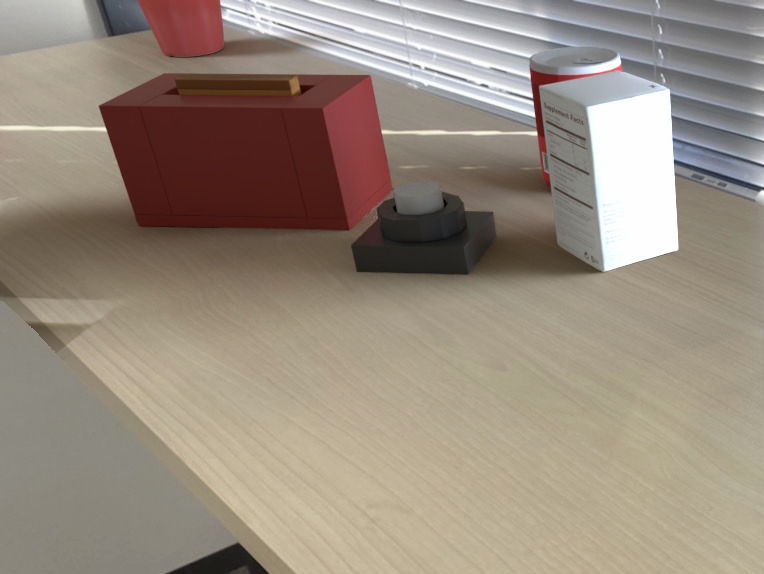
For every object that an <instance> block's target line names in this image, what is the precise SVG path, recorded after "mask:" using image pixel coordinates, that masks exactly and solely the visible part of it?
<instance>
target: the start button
mask: <svg viewBox="0 0 764 574" xmlns="http://www.w3.org/2000/svg"><path fill="white" fill-rule="evenodd" d="M392 192H393V196H394V197H395V202H396V208H397V213H400V214H403V215H422V214H428V213H433V212H436V211H439V210H441V209H444V203H443V198H442V192H443V191H442V187H441V185H440V184H439V183H437V182H434V181H429V180H428V181H427V180H418V181H410V182H405V183H401V184H399V185H397V186H395V187H394V188H393V190H392ZM394 197H393V198H394Z"/></svg>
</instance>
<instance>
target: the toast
mask: <svg viewBox="0 0 764 574" xmlns="http://www.w3.org/2000/svg"><path fill="white" fill-rule="evenodd" d="M210 74H211V73H198V74H184V75H182V76H180V77H178V78H176V79H175V83H176V86H177V89H178V91H179V95H230V96H298V97H299V96H300V95H301V91H300V86H299V85H300V84H299V80H298V76H297V75H210Z"/></svg>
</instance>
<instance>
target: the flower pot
mask: <svg viewBox="0 0 764 574" xmlns="http://www.w3.org/2000/svg"><path fill="white" fill-rule="evenodd" d="M137 2H138V4H139V7H140V9H141V11H142V13H143V15H144V18H145V19H146V22H147V24H148V26H149V28H150V30H151V31H152V34H153V36H154V38H155V40H156V42H157V44H158V46H159V49H160V50H161V53H162V54H163V55H165V56H168V57H174V58H175V57H176V58H188V57H189V58H191V57H199V56H206V55H209V54H210V55H211V54H213V53H217V52H219V51H221V50H222V49H224V48H225V36H224V22H223V14H222V5H221V0H137Z"/></svg>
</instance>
